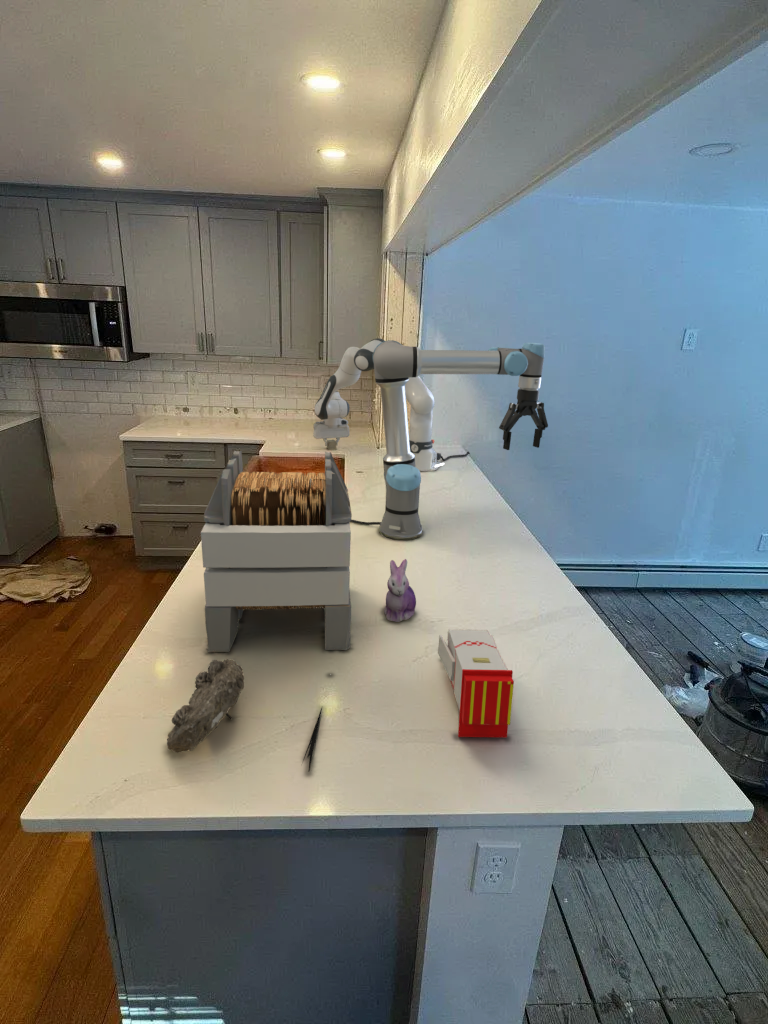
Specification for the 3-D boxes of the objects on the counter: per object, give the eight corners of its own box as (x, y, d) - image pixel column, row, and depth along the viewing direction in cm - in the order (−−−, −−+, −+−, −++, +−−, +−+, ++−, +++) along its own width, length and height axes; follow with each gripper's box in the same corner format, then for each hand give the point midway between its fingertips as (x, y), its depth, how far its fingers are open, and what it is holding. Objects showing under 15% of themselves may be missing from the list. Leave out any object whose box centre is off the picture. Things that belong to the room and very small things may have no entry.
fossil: (192, 660, 117) (244, 628, 112) (224, 691, 120) (276, 661, 115) (142, 746, 98) (202, 712, 93) (182, 779, 101) (242, 748, 96)
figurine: (392, 627, 141) (395, 572, 136) (374, 608, 149) (376, 556, 144) (425, 619, 145) (429, 566, 140) (405, 601, 154) (408, 550, 149)
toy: (488, 613, 130) (523, 677, 101) (484, 667, 133) (517, 744, 104) (435, 612, 130) (455, 676, 101) (432, 666, 133) (451, 743, 103)
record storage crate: (227, 584, 158) (219, 441, 145) (344, 583, 162) (347, 443, 148) (205, 654, 127) (191, 480, 113) (351, 650, 130) (355, 481, 117)
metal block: (329, 449, 311) (329, 441, 310) (326, 448, 315) (326, 439, 313) (336, 449, 313) (336, 441, 312) (333, 447, 317) (333, 439, 315)
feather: (331, 679, 122) (336, 673, 122) (307, 777, 96) (313, 769, 95) (324, 675, 122) (329, 669, 121) (298, 772, 95) (304, 764, 95)
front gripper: (506, 391, 191) (499, 452, 198) (563, 389, 201) (554, 448, 208) (493, 388, 197) (487, 447, 204) (549, 386, 207) (541, 443, 215)
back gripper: (315, 422, 302) (315, 448, 306) (350, 421, 310) (350, 445, 315) (311, 420, 307) (311, 445, 312) (346, 419, 316) (346, 443, 320)
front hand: (521, 448), depth 206 cm, fingers open, 13 cm apart
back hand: (331, 445), depth 313 cm, fingers closed on metal block, 4 cm apart
